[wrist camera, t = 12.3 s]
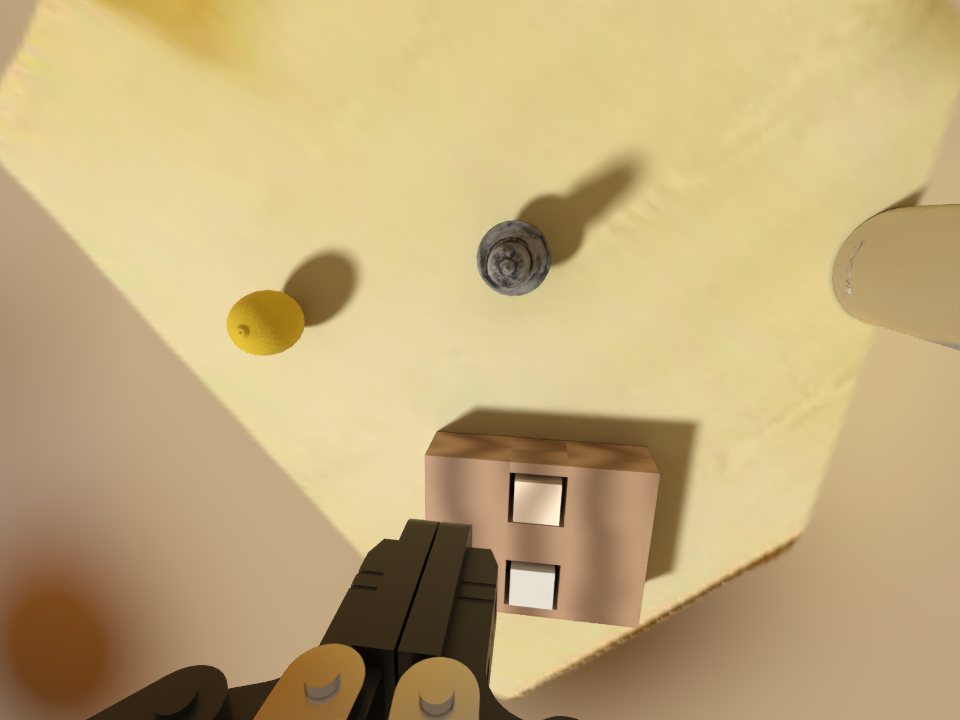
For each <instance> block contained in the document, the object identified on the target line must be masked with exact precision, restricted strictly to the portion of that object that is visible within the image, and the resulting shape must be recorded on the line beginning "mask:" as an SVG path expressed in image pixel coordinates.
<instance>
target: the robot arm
mask: <svg viewBox="0 0 960 720" xmlns="http://www.w3.org/2000/svg"><path fill="white" fill-rule="evenodd" d="M832 279H833V287H834V292H835V294H836V297H837V299H838V301H839V303H840V304H841V305H842V307H843V308H844V310H846V311H847V312H848V313H849V314H850V315H852V316H853V317H855V318H857V319H859V320H861V321H863V322H866V323H869V324H873V325H876V326H879V327H883V328H886V329H890V330H893V331H896V332H899V333H902V334H906V335H909V336H913V337H916V338H919V339H923V340H926V341H930V342H933V343H936V344H940V345H943V346H946V347H950V348H953V349H957V350H960V204H947V205H929V206H910V207H902V208H896V209H891V210H889V211H886V212H883V213H880V214H878V215H876V216H874V217H873V218H871V219H869V220H867V221H866V222H864V223H863V224H862V225H861V226H860V227H858V228H857V229H856V230H855V231H854V232H853V233H852V234H851V235H850V237H849V238H848V239H847V240H846V241H845V243H844V244H843V246H842V248H841V249H840V251H839V253H838V255H837V258H836V261H835V264H834V269H833V278H832ZM497 590H498V564H497V562H496V559H495V557H494V555H493V552H492V550H491V549H483V548H473V547H472V524H462V523H451V522H441V523H440V522H439V521H428V520H418V519H409V520H408V522H407V524H406V526H405V528H404V530H403V532H402V535H401V537H400V539H399V540H391V539H384V540H382V541H381V542H380V543H379V544H378V545H377V546H375V547H374V548H373V549H372V550H371V551H369V552H368V554H367V556H366V558H365V559H364V561H363V563H362V565H361V567H360V569H359V573H358V574H357V575H356V577H355V578H354V580H353V582H352V584H351V588H349V590H348V592H347V594H346V596H345V597H344V599H343V601H342V603H341V605H340V607H339V609H338V611H337V613H336V615H335V616H334V619H333V620H332V622H331V624H330V626H329V628H328V630H327V632H326V634H325V636H324V637H323V639H322V641H321V643H320V645H319V646H318V647H315V648H312V649H311V650H308V651H306V652H305V653H303V654H301V655H300V656H299V657H298V658H296V659H295V660H294V661H293V662H292V663H291V664H290V665H289V667H288V668H287V669H286V671H285V672H284V673H283V675H282V676H281V677H280V678H278V679H275V680H272V681H267V682H263V683H257V684H252V685H246V686H241V687H235V688H230V689H228V686H227V680H226V677H225V676H224V674H223V673H222V672H221V671H220V670H219V669H217V668H215V667H212V666H207V665H197V666H190V667H186V668H183V669H180V670H177V671H175V672H173V673H171V674H169V675H167V676H165V677H163V678H161V679H159V680H158V681H156V682H154V683H152V684H150V685H148V686H147V687H145V688H143V689H141V690H140V691H138V692H136V693H134V694H132V695H130V696H129V697H127V698H125V699H123V700H121V701H119V702H118V703H116V704H114V705H112V706H110V707H109V708H107V709H105V710H103V711H102V712H100V713H98V714H96V715H94V716H92V717H90V718H89V719H87V720H522V719H520V718H518V717H516V716H515V715H513V714H512V713H510V712H508V711H507V710H506V709H505V708H504V707H502V705H501V704H500V703H499V702H498V701H497V700H496V699H495V697H494V695H493V694H492V692H491V690H490V688H489V682H490V673H491V664H492V655H493V646H494V637H495V628H496V616H497ZM544 720H578V719H575V718H571V717H566V716H555V717H550V718H547V719H544Z"/></svg>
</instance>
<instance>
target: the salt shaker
mask: <svg viewBox="0 0 960 720" xmlns="http://www.w3.org/2000/svg"><path fill="white" fill-rule="evenodd" d="M550 264H551V251H550V248H549V244H548V242H547V240H546V238H545V237H544V235H543V234H542V233H541V232H540V231H539V230H538V229H537V228H536V227H535V226H533V225H531V224H529V223H527V222H522V221H517V220H515V221H506V222H503V223H500V224H497V225H496V226H494V227H493V228H492V229H490V230H489V231H488V232H487V233H486V235H485V236H484V237H483V238H482V241H481V243H480V245H479V247H478V252H477V266H478V269H479V272H480V275H481V277H482V278H483V280H484V282H485V283H486V284H487V285H488V286H489V287H490V288H491V289H493V290H494V291H496V292H498V293H500V294H503V295H508V296H520V295H524V294H527V293H529V292H531V291H533V290H534V289H536V288H537V287H538V286H539V285H540V284H541V283H542V282H543V281H544V279H545V277H546V276H547V274H548V272H549V268H550Z"/></svg>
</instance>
